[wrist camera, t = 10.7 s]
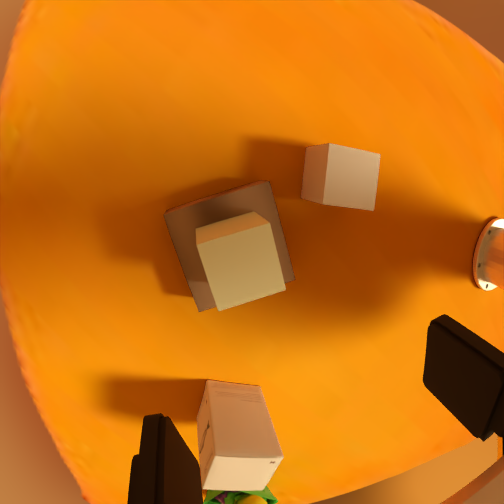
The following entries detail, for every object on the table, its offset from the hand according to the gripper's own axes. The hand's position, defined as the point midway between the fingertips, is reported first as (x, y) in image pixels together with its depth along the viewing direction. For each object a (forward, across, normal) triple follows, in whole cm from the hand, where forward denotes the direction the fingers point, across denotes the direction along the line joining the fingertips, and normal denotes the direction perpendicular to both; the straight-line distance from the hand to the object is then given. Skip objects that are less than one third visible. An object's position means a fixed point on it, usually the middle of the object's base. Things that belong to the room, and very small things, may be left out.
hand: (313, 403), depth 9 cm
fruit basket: (+24, +10, +42) cm, 50 cm away
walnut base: (+25, 0, 0) cm, 25 cm away
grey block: (+24, -12, -4) cm, 27 cm away
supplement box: (+24, +6, +21) cm, 33 cm away
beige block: (+21, 0, 0) cm, 21 cm away
